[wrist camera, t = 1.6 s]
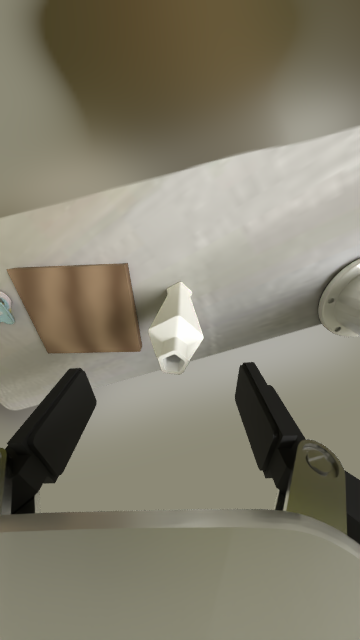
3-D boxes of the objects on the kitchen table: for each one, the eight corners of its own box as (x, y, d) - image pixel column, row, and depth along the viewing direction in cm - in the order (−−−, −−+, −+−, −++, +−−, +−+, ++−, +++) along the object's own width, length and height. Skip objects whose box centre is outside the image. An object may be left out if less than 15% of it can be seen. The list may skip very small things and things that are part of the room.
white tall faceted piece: (173, 314, 26) (163, 395, 13) (159, 290, 25) (129, 355, 11) (199, 301, 25) (217, 375, 12) (186, 275, 23) (189, 327, 10)
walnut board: (127, 263, 23) (124, 264, 22) (142, 346, 29) (140, 351, 28) (16, 267, 23) (6, 269, 22) (54, 348, 30) (48, 353, 28)
